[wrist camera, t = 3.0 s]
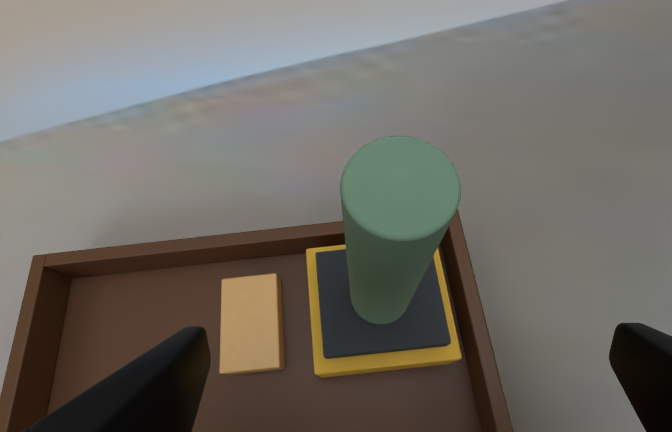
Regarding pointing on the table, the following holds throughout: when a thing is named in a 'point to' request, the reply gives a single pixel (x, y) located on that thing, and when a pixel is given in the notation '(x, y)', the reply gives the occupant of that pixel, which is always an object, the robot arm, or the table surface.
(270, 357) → the tan rectangular slab
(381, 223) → the sponge wand
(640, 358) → the robot arm
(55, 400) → the tray
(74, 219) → the table surface
